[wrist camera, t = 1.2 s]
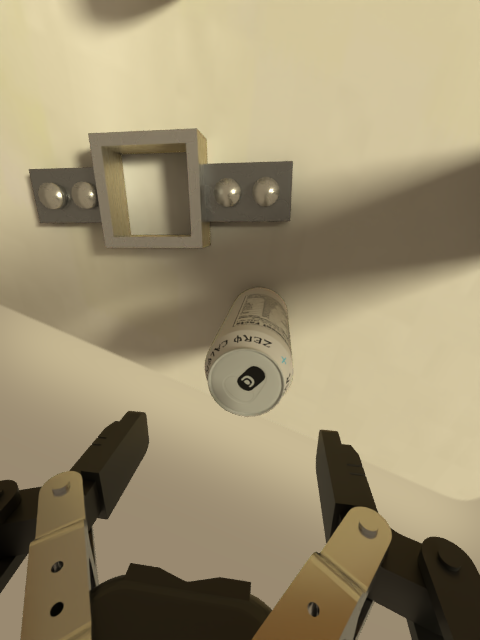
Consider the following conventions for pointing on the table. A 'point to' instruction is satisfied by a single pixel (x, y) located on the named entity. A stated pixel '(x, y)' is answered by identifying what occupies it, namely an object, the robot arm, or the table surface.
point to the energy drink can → (251, 355)
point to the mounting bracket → (203, 181)
